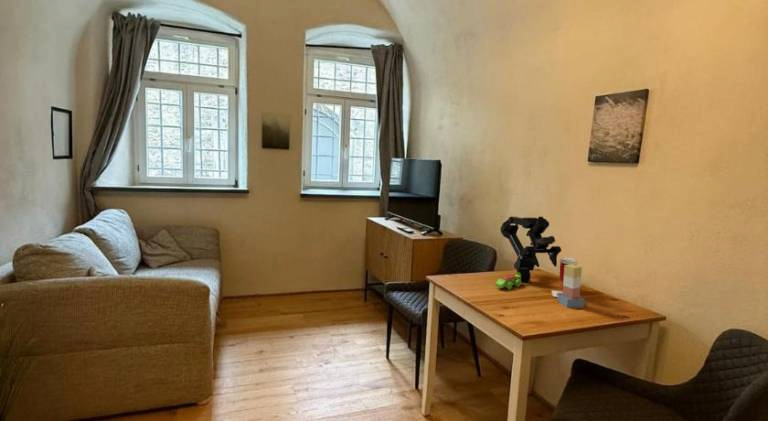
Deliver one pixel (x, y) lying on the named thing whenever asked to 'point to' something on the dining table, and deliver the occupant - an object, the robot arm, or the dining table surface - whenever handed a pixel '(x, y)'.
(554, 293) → the page
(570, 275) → the brick column
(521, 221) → the robot arm
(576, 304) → the base brick
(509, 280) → the green bumpy elongated piece
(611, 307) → the dining table surface
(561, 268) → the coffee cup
